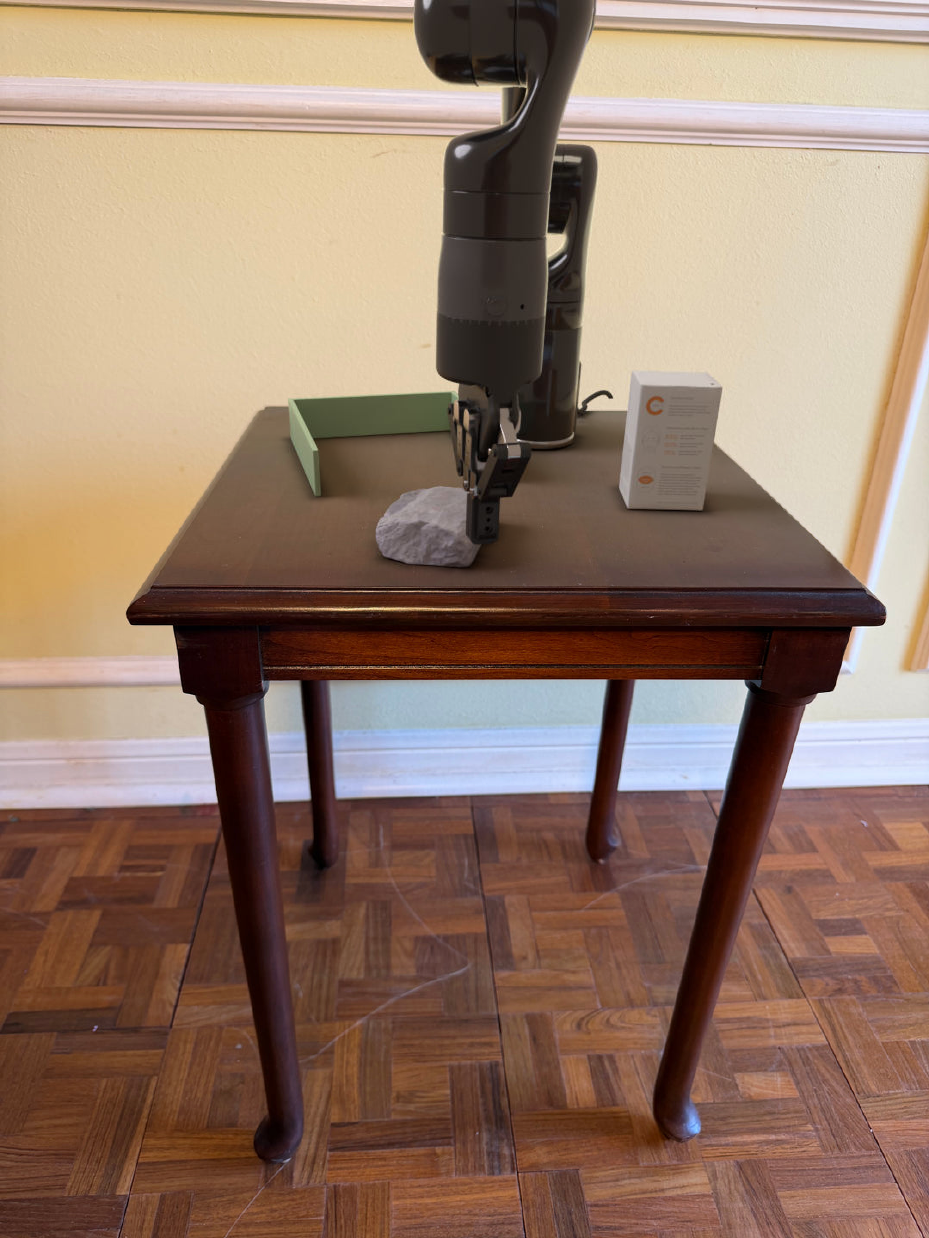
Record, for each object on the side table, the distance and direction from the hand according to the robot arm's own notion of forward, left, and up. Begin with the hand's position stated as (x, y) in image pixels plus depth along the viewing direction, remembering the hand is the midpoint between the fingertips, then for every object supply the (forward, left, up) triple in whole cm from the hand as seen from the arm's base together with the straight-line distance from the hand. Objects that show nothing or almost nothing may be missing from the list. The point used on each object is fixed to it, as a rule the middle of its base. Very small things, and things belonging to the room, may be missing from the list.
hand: (481, 539), depth 68 cm
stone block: (-8, -12, -6) cm, 15 cm away
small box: (-32, 0, -6) cm, 33 cm away
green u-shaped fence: (-23, -30, -6) cm, 39 cm away
